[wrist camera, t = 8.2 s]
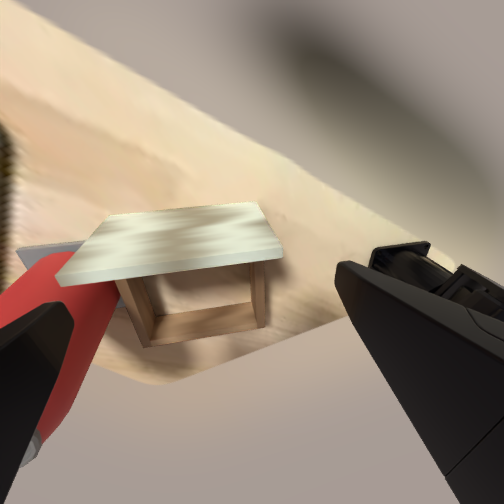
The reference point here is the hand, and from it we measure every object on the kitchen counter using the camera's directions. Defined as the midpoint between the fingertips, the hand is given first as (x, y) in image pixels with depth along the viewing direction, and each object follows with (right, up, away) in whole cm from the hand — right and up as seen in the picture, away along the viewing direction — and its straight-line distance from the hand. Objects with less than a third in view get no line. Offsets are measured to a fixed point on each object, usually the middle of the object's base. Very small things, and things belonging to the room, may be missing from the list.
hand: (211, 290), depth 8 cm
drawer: (-4, -1, +14) cm, 15 cm away
